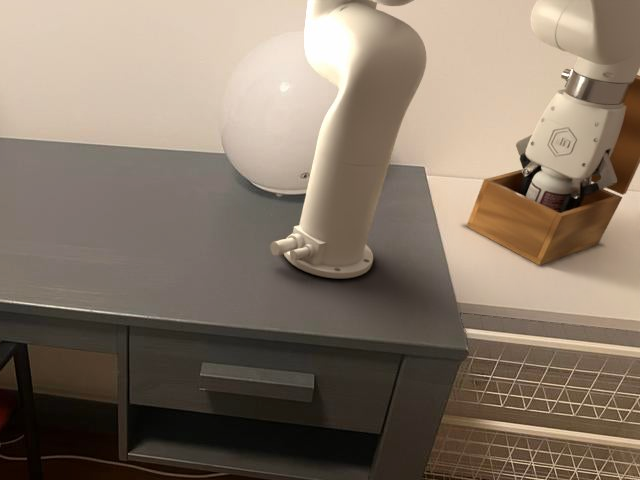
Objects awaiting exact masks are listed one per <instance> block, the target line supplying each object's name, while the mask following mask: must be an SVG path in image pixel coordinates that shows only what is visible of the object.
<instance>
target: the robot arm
mask: <svg viewBox="0 0 640 480" xmlns="http://www.w3.org/2000/svg"><path fill="white" fill-rule="evenodd" d="M414 1H415V0H307V8H306V17H305V24H304V25H305V26H304V39H303V41H304V51H305V52H304V53H305V56H306V59H307V62H308V63H309V65H310V67H311V68H312V69H313V70H314V71H315V72H316V73H317V74H318V75H320V76H321V77H322V78H323V79H325V80H327V81H328V82H329V83H331V84H332V85H334V86H335V87H336V88H338V92H337V95H336V98H335V100H334V101H333V103H332V105H331V106H330V107H329V109H328V111H327V113H326V114H325V116H324V118H323V120H322V123H321V125H320V129H319V133H318V137H317V141H316V147H315V151H314V157H313V161H312V165H311V170H310V175H309V179H308V184H307V189H306V192H305V197H304V202H303V207H302V211H301V216H300V219H299V220H300V221H299V225H295V226H293V231H292V233H291V234H289V235H288V236H286V238H285V239H279V240H276V241H272V242H271V243H270V247H269V248H270V252H271V254H272V255H273V256H279V255H284V257H285V258H286V259H287V261H288V262H289V263H290V264H291V265H293V267H296V268H297V269H298V270H301V271H304V272H306V273H308V274H311V275H314V276H318V277H322V278H327V279H328V278H329V279H339V280H340V279H351V278H352V279H353V278H356V277H359V276H363V275H364V274H366V273H368V271H369V270H371V267H372V266H373V261H374V254H373V251H372V250H371V248H370V247H369V246H368V245H367V241H368V239H369V235H370V231H371V228H372V225H373V221H374V217H375V215H376V210H377V207H378V203H379V200H380V197H381V192H382V190H383V187H384V183H385V180H386V176H387V172H388V170H389V167H390V166H389V165H390V162H391V158H392V155H393V151H394V149H395V148H394V147H395V144H396V141H397V138H398V136H399V135H398V134H399V132H400V129H401V126H402V123H403V121H404V118H405V117H406V116H405V115H406V114H407V111H408V109H409V106H410V105H411V102H412V101H413V99H414V97H415V94H416V93H417V91H418V89H419V87H420V85H421V82H422V80H423V78H424V75H425V73H426V67H427V49H426V47H425V43H424V41H423V39H422V37H421V36H420V35H419V33H418V32H417V31H416V29H414V28H413V27H412V26H411V25H410V24H408V23H407V22H406V21H403V20H401V19H399V18H398V17H396V16H393V15H391V14H389V13H387V12H385V11H382V10H379V9H377V5H378V4H380V5H383V6H387V7H401V6H405V5H408V4H410V3H412V2H414ZM529 19H530V28H531V31H532V33H533V34H534V35H535V37H536V38H537V39H538V40H540V41H541V42H543V43H545V44H546V45H548V46H551V47H553V48H556V49H558V50H561V51H562V52H566V53H569V54H570V55H571V54H572V55H574V56H576V57H577V59H576V61H575V64H574V66H573V67H572V68H571V69H570V68H565V69H564V70H563V71H562V73H561V76H560V78H561V79H562V80H565V81H566V82H565V84H564V89H559V90H557V91H556V93H555V94H554V96H553V97H552V99H551V100H550V102H549V103H548V105H547V106H546V108H545V110H544V111H543V112H542V115H541V116H540V119H539V121H538V122H537V124H536V126H535V128H534V131H533V132H532V134H530V135H528V136H526V137H525V138H522V139H520V140H518V141H517V142H516V143H515V147H516V150H517V153H518V155H519V161H520V164H521V167H522V169H523V171H522V174H523V176H524V178H523V180H522V183H521V185H520V188H519V190H518V193H519V194H521V195H523V196H526V194H527V191H528V189H529V186H530V184H531V182H532V179H533V177H534V175H535V174H536V173H538V172H539V171H541V170H542V169H541V166H543V167H545V168H548V169H551V170H553V171H555V172H557V173H559V174H561V175H564V176H566V177H569V178H571V179H572V189H571V195H568V196H566V197H565V199H564V201H563V204H562V206H561V208H560V210H559V213H562V212H565V211H569V210H572V209H575V208H578V207H580V205H581V203H582V200H583V198H584V196H586V195H589V194H591V193H594V192H596V191H599V190H601V189H604V190H605V189H607V188H606V187H609V186H611V185H614V184H616V183H617V178H616V175H615V172H614V169H613V167H612V164H611V161H610V156H611V154H612V152H613V149H614V147H615V144H616V142H617V139H618V136H619V133H620V130H621V127H622V124H623V120H624V116H625V111H626V106H625V105H623V103H624V101H625V99H626V97H627V95H628V92H629V90H630V88H631V86H632V84H633V82H634V79H635V77H636V75H638V73H639V71H640V0H536V2H535V4H534V5H533V7H532V10H531V13H530V18H529ZM599 174H600V176H601V179H600V180H599V181H597V182H595V183H594V182H591V180H592V175H599Z"/></svg>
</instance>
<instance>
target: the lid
mask: <svg viewBox="0 0 640 480" xmlns="http://www.w3.org/2000/svg"><path fill="white" fill-rule="evenodd" d="M623 105H625V106H626V111H625V116H624V120H623V124H622V127H621V130H620V133H619V136H618V139H617V142H616V144H615V147H614V149H613V152H612V154H611V156H610V161H611V164H612V167H613V169H614V172H615V175H616V178H617V183H616V184H614V185H611V186H609V187H606V188H605V189H607V190H610V191H613V192H615V193H617V194H620V195H625V194H627V192H628V190H629V188H630V185H631V183H632V181H633V179H634V176H635V175H636V172H637V170H638V168H639V166H640V75H639V74H637V75H636V77H635V79H634V82H633V84H632V86H631V88H630V90H629V92H628V95H627V97H626V99H625V101H624V103H623ZM600 179H601V176H600V174H599V175H592V180H591V183H595V182H597V181H599V180H600Z"/></svg>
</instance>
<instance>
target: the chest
mask: <svg viewBox="0 0 640 480" xmlns="http://www.w3.org/2000/svg"><path fill="white" fill-rule="evenodd" d="M522 171H523V168H521V169H518V170H515V171H511V172H508V173H507V172H506V173H503V174H499V175H495V176H491V177H488V178H484V179H483V181H482V184H481V187H480V189H479V192H478V195H477V197H476V199H475V202H474V205H473V208H472V210H471V213H470V215H469V218H468V221H467V224H466V227H467V228H469V229H470V230H472V231H475V232H477V233H478V234H480V235H481V236H484V237H485V238H487V239H489V240H491V241H494V242H495V243H497V244H499V245H500V246H503V247H504V248H506V249H508V250H510V251H512V252H514V253H516V254H518V255H520V256H522V257H523V258H525V259H527V260H529V261H531V262H532V263H534V264H536V265H539V266H541V265H544V264H548V263H549V262H553V261H555V260H559V259H560V258H564V257H567V256H570V255H571V254H575V253H578V252H580V251H583V250H586V249H589V248H592V247H595V246H597V245H599V243H600V242H601V240H602V238H603V237H604V235H605V233H606V231H607V228H608V227H609V225H610V223H611V221H612V218H613V217H614V214H615V213H616V211H617V209H618V207H619V205H620V203H621V201H622V199H623V197H622V196H621V195H619V194H616V193H614V192H611V191H609V190H608V189H607V190H606V189H605V188H604V189H601V190H599V191H596V192H594V193H591V194H589V195H586V196H584V198H583V200H582V203H581V205H580V207H578V208H575V209H572V210H569V211H565V212H562V213H559V212H557V211H555V210H553V209H551V208H549V207H547V206H544V205H542V204H540V203H538V202H536V201H534V200H532V199H530V198H527V197H525V196H523V195H521V194H519V193H518V190H519V188H520V185H521V183H522V180H523V178H524V176H523V174H522ZM541 171H542V170H541Z"/></svg>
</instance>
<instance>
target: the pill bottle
mask: <svg viewBox="0 0 640 480" xmlns="http://www.w3.org/2000/svg"><path fill="white" fill-rule="evenodd" d="M541 169H542V171H539V172H538V173H536V174H535V175H534V177H533V179H532V182H531V184H530V186H529V189H528V191H527V194H526V196H525V197H527V198H530V199H532V200H534V201H536V202H538V203H540V204H542V205H544V206H547V207H549V208H551V209H553V210H555V211H557V212H559V210H560V208H561V206H562V204H563V201H564V199H565V197H566V196H568V195H571V189H572V179H571V178H569V177H566V176H564V175H561V174H559V173H557V172H555V171H553V170H551V169H548V168H545V167H543V166H541Z"/></svg>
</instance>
